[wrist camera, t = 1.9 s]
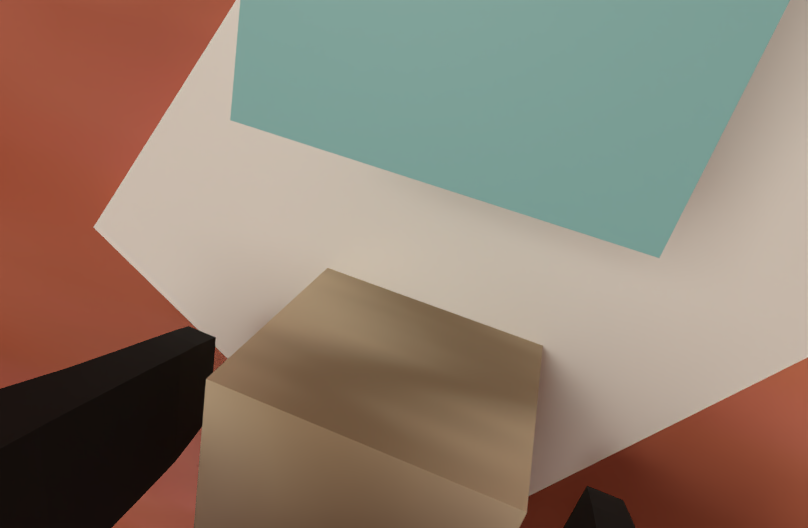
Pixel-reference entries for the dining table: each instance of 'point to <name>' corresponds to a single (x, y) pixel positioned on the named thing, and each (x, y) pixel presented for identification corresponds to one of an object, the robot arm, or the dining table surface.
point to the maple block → (369, 418)
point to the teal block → (512, 96)
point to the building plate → (495, 254)
